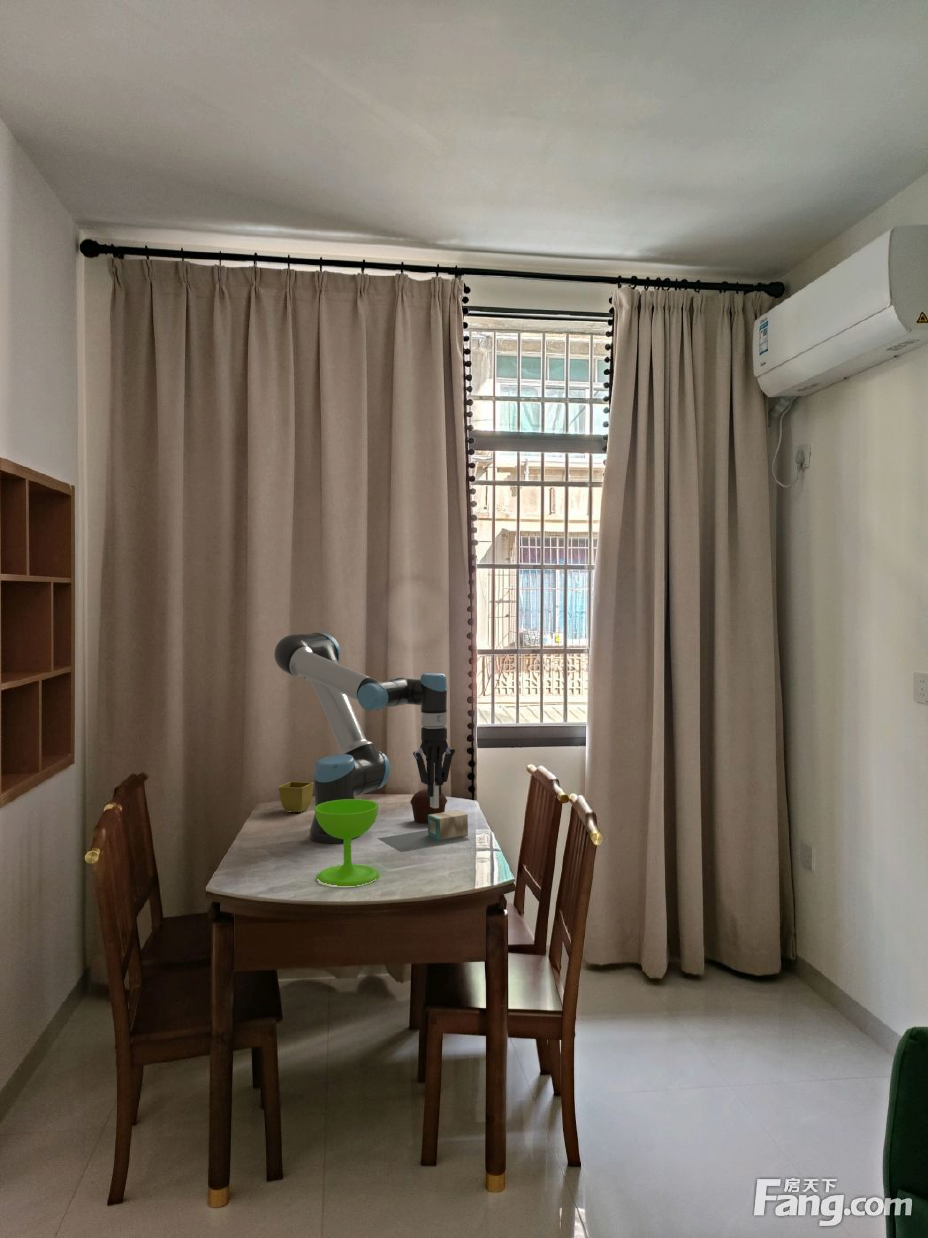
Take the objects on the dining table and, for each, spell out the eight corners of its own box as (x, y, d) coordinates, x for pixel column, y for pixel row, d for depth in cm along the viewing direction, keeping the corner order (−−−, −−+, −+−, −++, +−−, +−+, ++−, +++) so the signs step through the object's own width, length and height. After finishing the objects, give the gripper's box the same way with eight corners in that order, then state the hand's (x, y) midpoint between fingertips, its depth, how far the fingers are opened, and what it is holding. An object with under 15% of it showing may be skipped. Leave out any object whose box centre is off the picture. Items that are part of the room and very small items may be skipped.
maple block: (437, 819, 247) (467, 814, 252) (427, 814, 253) (457, 810, 258) (437, 840, 248) (467, 834, 253) (428, 835, 253) (457, 830, 258)
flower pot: (278, 814, 283) (277, 786, 283) (291, 807, 291) (290, 781, 291) (302, 815, 280) (301, 788, 280) (314, 809, 289) (314, 782, 289)
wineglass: (303, 878, 217) (301, 807, 217) (354, 863, 228) (352, 796, 228) (341, 893, 206) (339, 818, 205) (392, 877, 217) (391, 806, 216)
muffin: (405, 825, 266) (405, 793, 266) (416, 816, 277) (415, 785, 276) (442, 827, 263) (442, 795, 263) (451, 818, 274) (451, 787, 274)
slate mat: (401, 853, 236) (401, 852, 236) (377, 840, 250) (377, 838, 250) (470, 841, 247) (470, 839, 247) (444, 829, 261) (444, 827, 261)
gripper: (419, 730, 244) (420, 813, 244) (459, 726, 250) (460, 807, 251) (408, 726, 250) (408, 807, 251) (447, 723, 256) (448, 801, 257)
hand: (434, 807), depth 251 cm, fingers closed
